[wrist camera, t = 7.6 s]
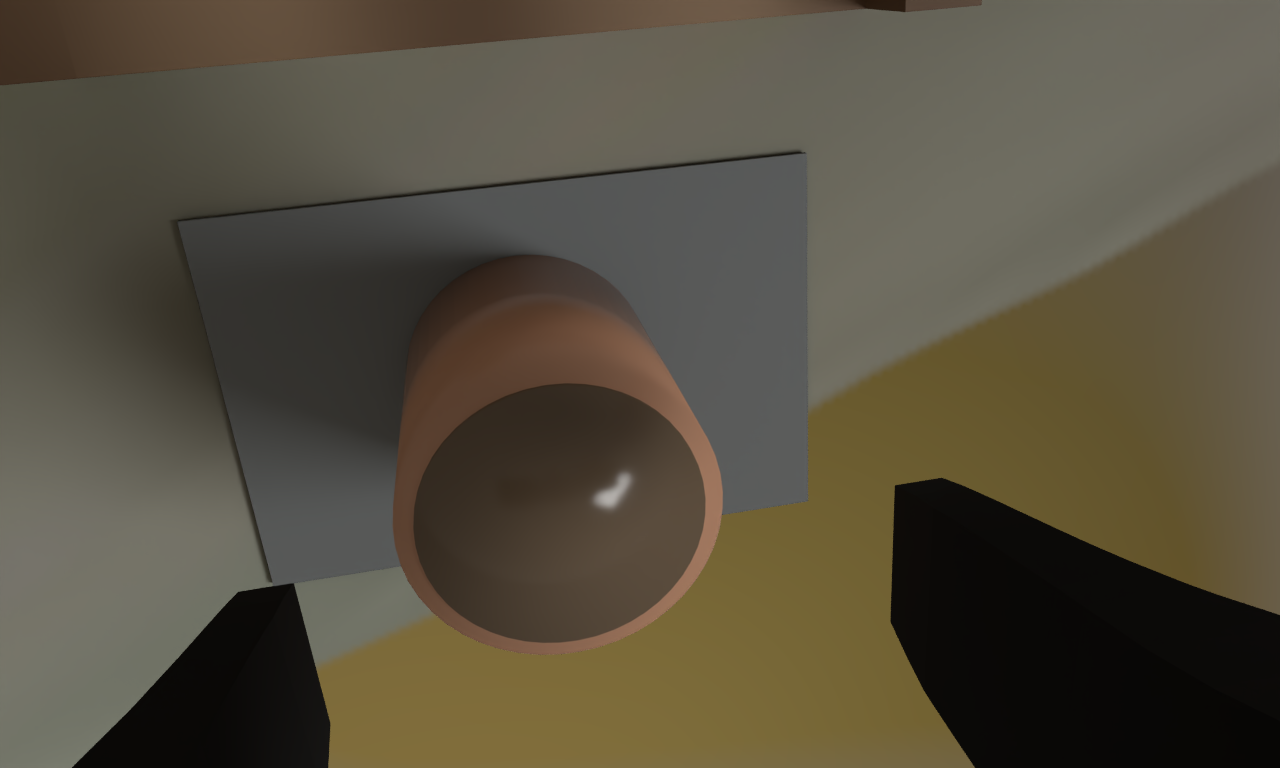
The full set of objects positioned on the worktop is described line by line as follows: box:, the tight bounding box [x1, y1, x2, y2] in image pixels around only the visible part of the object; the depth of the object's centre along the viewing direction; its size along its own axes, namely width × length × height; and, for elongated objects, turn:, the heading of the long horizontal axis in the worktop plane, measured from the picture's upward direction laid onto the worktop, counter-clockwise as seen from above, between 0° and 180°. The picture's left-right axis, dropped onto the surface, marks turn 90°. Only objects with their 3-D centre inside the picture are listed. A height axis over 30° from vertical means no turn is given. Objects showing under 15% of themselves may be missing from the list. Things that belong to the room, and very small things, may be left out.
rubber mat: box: [177, 152, 808, 586], centre depth 20 cm, size 12×8×1 cm, turn 94°
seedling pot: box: [392, 255, 723, 655], centre depth 18 cm, size 5×5×6 cm
